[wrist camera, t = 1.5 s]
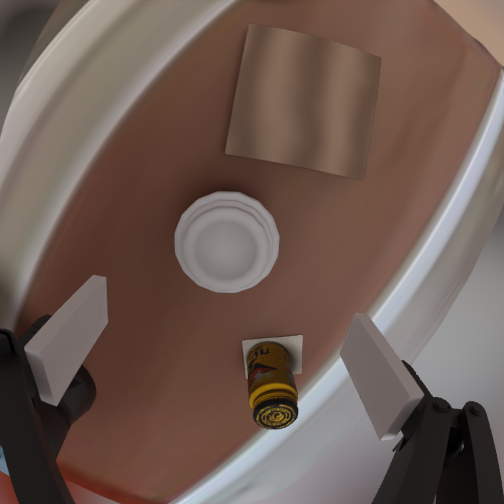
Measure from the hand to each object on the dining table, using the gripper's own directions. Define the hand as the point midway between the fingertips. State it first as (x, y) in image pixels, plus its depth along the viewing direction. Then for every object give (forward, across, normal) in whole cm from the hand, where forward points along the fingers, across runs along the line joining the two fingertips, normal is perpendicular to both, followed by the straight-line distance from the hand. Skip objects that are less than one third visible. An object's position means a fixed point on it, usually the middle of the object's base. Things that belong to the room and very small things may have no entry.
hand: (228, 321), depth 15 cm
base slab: (+22, +5, +15) cm, 27 cm away
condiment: (+22, +9, -18) cm, 30 cm away
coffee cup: (+22, 0, 0) cm, 22 cm away
